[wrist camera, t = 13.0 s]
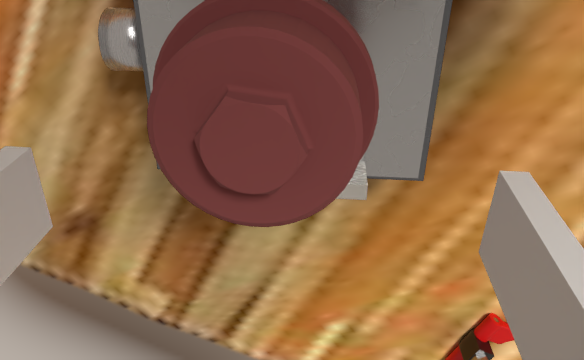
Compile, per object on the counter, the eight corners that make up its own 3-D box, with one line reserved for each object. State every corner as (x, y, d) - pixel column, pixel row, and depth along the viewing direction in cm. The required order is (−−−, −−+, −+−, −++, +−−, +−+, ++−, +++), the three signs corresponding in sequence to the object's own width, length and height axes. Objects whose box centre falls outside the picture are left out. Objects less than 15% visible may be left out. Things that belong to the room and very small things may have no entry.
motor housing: (109, -99, 31) (26, -101, 23) (444, -96, 30) (487, -97, 21) (144, 132, 39) (92, 193, 30) (410, 142, 38) (432, 210, 29)
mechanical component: (390, 105, 29) (241, 157, 32) (332, -67, 25) (165, 9, 28) (422, 219, 19) (194, 284, 21) (330, -47, 14) (58, 74, 17)
